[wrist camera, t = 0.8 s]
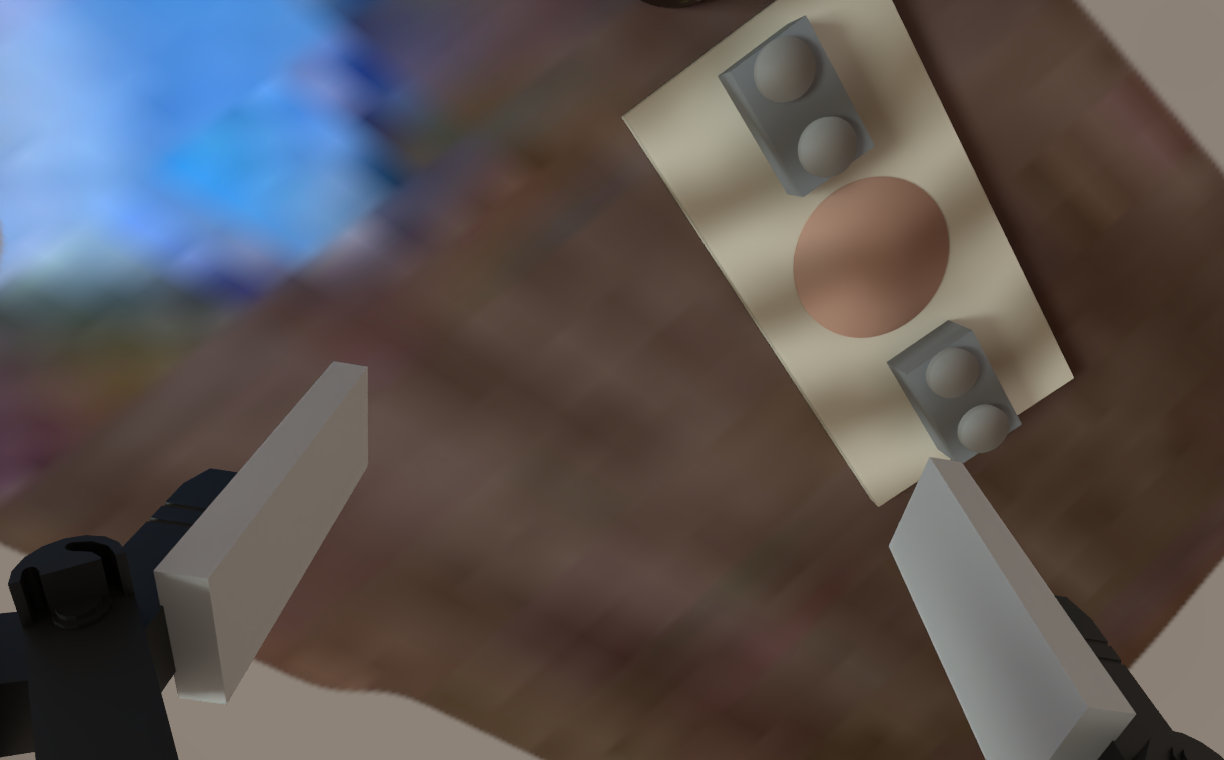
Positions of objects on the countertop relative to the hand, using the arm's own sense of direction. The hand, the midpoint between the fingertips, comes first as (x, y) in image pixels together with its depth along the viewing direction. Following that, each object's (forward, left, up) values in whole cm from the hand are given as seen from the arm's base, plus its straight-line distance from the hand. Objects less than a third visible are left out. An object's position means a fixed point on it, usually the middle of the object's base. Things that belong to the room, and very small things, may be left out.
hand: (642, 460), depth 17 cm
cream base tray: (+6, +12, -18) cm, 23 cm away
